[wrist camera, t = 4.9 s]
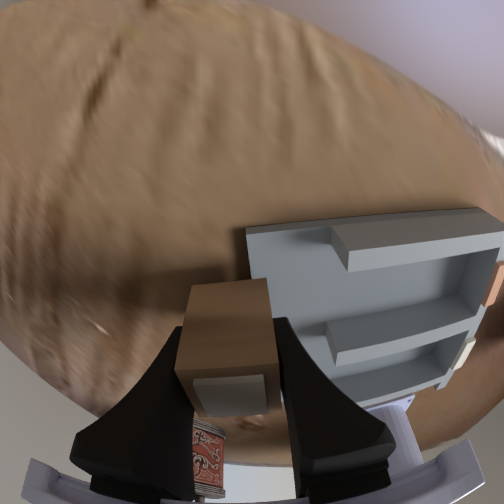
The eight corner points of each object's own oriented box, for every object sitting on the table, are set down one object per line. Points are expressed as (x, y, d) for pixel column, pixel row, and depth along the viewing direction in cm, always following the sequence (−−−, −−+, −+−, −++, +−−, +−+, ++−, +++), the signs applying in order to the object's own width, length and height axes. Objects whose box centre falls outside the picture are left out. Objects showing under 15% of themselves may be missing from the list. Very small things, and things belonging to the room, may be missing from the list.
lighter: (144, 416, 23) (128, 505, 14) (155, 404, 21) (139, 504, 13) (215, 439, 25) (213, 521, 16) (232, 429, 24) (233, 519, 15)
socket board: (430, 360, 20) (446, 390, 17) (267, 395, 21) (270, 434, 17) (479, 207, 13) (517, 232, 10) (245, 227, 14) (247, 268, 10)
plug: (271, 331, 15) (282, 417, 10) (206, 337, 15) (198, 422, 10) (266, 277, 13) (280, 369, 8) (191, 285, 13) (172, 376, 8)
